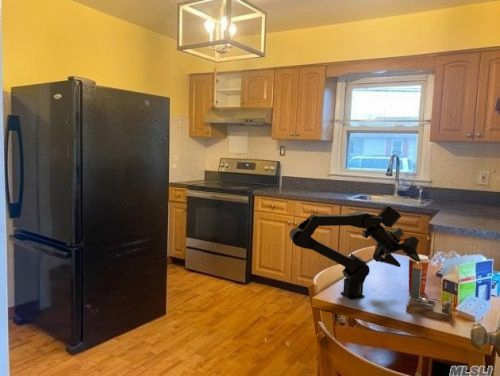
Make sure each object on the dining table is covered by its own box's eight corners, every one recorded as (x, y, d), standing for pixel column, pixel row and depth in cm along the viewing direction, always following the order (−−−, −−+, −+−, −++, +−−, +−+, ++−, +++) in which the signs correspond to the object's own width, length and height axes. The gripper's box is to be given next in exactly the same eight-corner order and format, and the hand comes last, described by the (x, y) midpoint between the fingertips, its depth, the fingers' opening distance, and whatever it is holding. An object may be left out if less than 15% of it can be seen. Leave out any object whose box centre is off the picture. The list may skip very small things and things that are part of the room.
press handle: (409, 302, 132) (411, 262, 131) (410, 299, 135) (413, 260, 133) (427, 306, 129) (430, 265, 128) (428, 303, 132) (431, 262, 130)
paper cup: (417, 296, 145) (419, 260, 143) (401, 289, 152) (403, 254, 150) (432, 293, 148) (434, 258, 146) (416, 286, 155) (418, 252, 153)
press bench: (406, 311, 131) (407, 295, 130) (410, 303, 137) (411, 288, 137) (449, 321, 124) (450, 304, 123) (451, 312, 130) (452, 296, 130)
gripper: (407, 214, 139) (435, 242, 142) (370, 228, 154) (396, 253, 157) (399, 236, 133) (428, 265, 135) (361, 248, 148) (388, 274, 150)
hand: (409, 263), depth 144 cm, fingers open, 9 cm apart
